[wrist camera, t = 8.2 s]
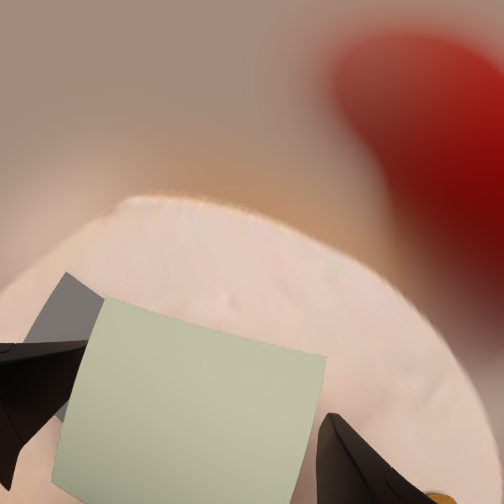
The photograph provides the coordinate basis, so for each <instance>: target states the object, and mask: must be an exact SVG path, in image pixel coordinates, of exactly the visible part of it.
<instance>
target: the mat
mask: <svg viewBox="0 0 504 504" xmlns="http://www.w3.org/2000/svg"><path fill="white" fill-rule="evenodd" d="M103 303H104V299H103V298H101V297H100V296H99V295H97V294H96V293H94V292H93V291H91V290H90V289H89V288H87V287H86V286H85V285H83V284H82V283H80V282H79V281H78V280H76V279H75V278H74V277H72V276H71V275H70V274H69V273H67V272H66V273H65V274H64V275H63V277H62V278H61V280H60V281H59V283H58V285H57V286H56V288H55V289H54V291H53V292H52V294H51V295H50V297H49V299H48V300H47V302H46V304H45V305H44V307H43V308H42V310H41V312H40V314H39V315H38V317H37V319H36V320H35V322H34V324H33V326H32V327H31V329H30V331H29V333H28V335H27V336H26V338H25V340H24V342H23V343H40V342H60V341H76V340H89V339H90V336H91V333H92V331H93V328H94V325H95V323H96V320H97V318H98V315H99V313H100V310H101V308H102V305H103ZM69 400H70V399H69ZM69 400H68V401H67V402H66V403H65V404H64V405H63V406H62V407H61V408H60V409H59V410H58V411H57V412H56V413H55V415H56V416H57V417H58V418H59V419H60V420H61V421H62V422H64V418H65V414H66V411H67V407H68V403H69Z"/></svg>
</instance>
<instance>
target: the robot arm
mask: <svg viewBox="0 0 504 504" xmlns="http://www.w3.org/2000/svg"><path fill="white" fill-rule="evenodd" d="M88 341H89V340H76V341H60V342H40V343H16V344H15V343H0V484H1V485H2V486H3V487H4V488H5V489H6V490H7V491H10V489H11V484H12V479H13V475H14V471H15V466H16V462H17V458H18V455H19V452H20V451H21V449H22V448H23V447H24V445H25V444H26V443H27V442H28V441H29V440H30V439H31V438H32V437H33V436H34V435H35V434H36V433H37V432H38V431H39V430H40V429H41V428H42V427H43V426H44V425H45V424H46V423H47V422H48V421H49V420H50V419H51V418H52V417H53V415H54V414H55V413H56V412H57V411H58V410H59V409H60V408H61V407H62V406H63V405H64V404H65V403H66V402H67V401H68V400H69V399H70V396H71V393H72V390H73V386H74V383H75V380H76V377H77V373H78V370H79V367H80V364H81V361H82V358H83V355H84V353H85V350H86V347H87V344H88ZM316 480H317V504H438V503H437V502H435V501H434V500H432V499H431V498H430V497H428V496H427V495H425V494H424V493H423V492H421V491H420V490H419V489H417V488H416V487H415V486H413V485H412V484H411V483H410V482H408V481H407V480H406V479H405V478H404V477H403V476H401V475H400V474H399V473H398V472H397V471H396V470H395V469H394V468H393V467H391V466H390V465H389V464H388V463H387V462H386V461H385V460H384V459H383V458H382V457H381V456H380V455H379V454H378V453H377V452H376V451H375V450H374V449H373V448H372V447H371V446H370V445H369V444H368V443H367V442H366V441H365V440H364V439H363V438H362V437H361V436H360V435H359V434H358V433H357V432H356V431H355V430H354V429H353V428H352V427H351V426H350V425H349V424H348V423H347V422H346V421H345V420H344V419H343V418H342V417H341V416H340V415H339V414H336V413H328V414H327V415H326V417H325V419H324V420H323V422H322V424H321V426H320V428H319V433H318V444H317V455H316Z"/></svg>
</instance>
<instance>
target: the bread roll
mask: <svg viewBox="0 0 504 504" xmlns="http://www.w3.org/2000/svg"><path fill="white" fill-rule="evenodd" d="M427 496H428V497H430V498H431V499H432V500H434V501H435V502H437V503H438V504H457V503H456V502H455V500H454V499H453V498H451V497H450V496H448V495H442V494H430V495H427Z"/></svg>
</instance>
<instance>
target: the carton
mask: <svg viewBox="0 0 504 504" xmlns="http://www.w3.org/2000/svg"><path fill="white" fill-rule="evenodd" d="M326 361H327V356H322V355H317V354H312V353H307V352H302V351H297V350H293V349H288V348H284V347H279V346H275V345H270V344H266V343H262V342H258V341H254V340H250V339H246V338H242V337H238V336H234V335H230V334H227V333H223V332H219V331H216V330H212V329H208V328H205V327H201V326H198V325H194V324H191V323H188V322H184V321H181V320H178V319H175V318H171V317H168V316H165V315H162V314H159V313H156V312H153V311H150V310H147V309H144V308H141V307H138V306H135V305H132V304H129V303H126V302H123V301H121V300H118V299H115V298H112V297H110V296H106V298H105V300H104V303H103V305H102V308H101V310H100V313H99V315H98V318H97V320H96V323H95V325H94V328H93V331H92V333H91V336H90V339H89V341H88V344H87V347H86V350H85V353H84V355H83V358H82V361H81V364H80V367H79V370H78V373H77V377H76V380H75V383H74V386H73V390H72V393H71V396H70V400H69V403H68V407H67V411H66V414H65V418H64V422H63V426H62V430H61V434H60V439H59V443H58V448H57V452H56V457H55V462H54V468H53V473H52V479H51V482H52V483H53V484H55V485H56V486H58V487H59V488H61V489H62V490H64V491H65V492H67V493H68V494H70V495H71V496H73V497H75V498H76V499H78V500H80V501H81V502H83V503H85V504H289V503H290V500H291V497H292V494H293V491H294V488H295V485H296V482H297V479H298V475H299V472H300V469H301V465H302V462H303V458H304V455H305V451H306V448H307V444H308V440H309V436H310V432H311V429H312V425H313V421H314V416H315V412H316V408H317V404H318V399H319V395H320V390H321V386H322V381H323V376H324V371H325V366H326Z"/></svg>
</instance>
